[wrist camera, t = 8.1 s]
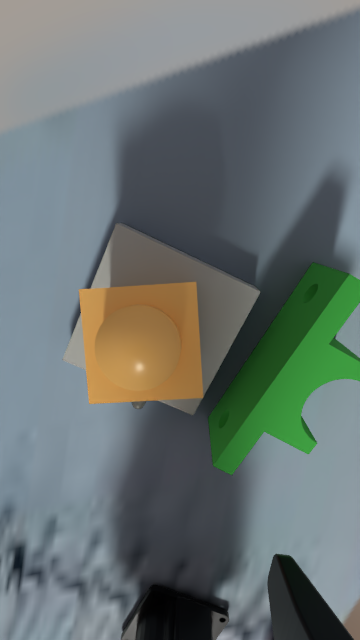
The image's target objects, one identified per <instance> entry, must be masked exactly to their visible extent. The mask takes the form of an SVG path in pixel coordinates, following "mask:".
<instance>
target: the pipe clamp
mask: <svg viewBox="0 0 360 640" xmlns="http://www.w3.org/2000/svg"><path fill="white" fill-rule="evenodd" d="M359 303H360V280H359V279H357V278H355V277H354V276H352V275H350V274H348V273H345V272H342V271H339V270H336V269H332V268H329V267H326V266H323V265H320V264H317V263H314V262H313V263H312V264H311V266H310V267H309V269H308V270H307V272H306V273H305V275H304V276H303V278H302V279H301V280H300V282H299V283H298V285H297V286H296V288H295V289H294V291H293V292H292V294H291V295H290V297H289V298H288V300H287V301H286V303H285V304H284V306H283V307H282V309H281V310H280V312H279V313H278V315H277V316H276V318H275V319H274V321H273V322H272V324H271V325H270V327H269V328H268V329H267V331H266V332H265V334H264V335H263V337H262V338H261V340H260V341H259V343H258V344H257V346H256V347H255V349H254V350H253V352H252V353H251V355H250V356H249V358H248V359H247V361H246V362H245V364H244V365H243V367H242V368H241V370H240V371H239V373H238V374H237V376H236V377H235V378H234V380H233V381H232V383H231V384H230V386H229V387H228V389H227V390H226V392H225V393H224V395H223V396H222V398H221V399H220V401H219V402H218V404H217V405H216V407H215V408H214V410H213V411H212V413H211V414H210V416H209V417H208V423H209V432H210V442H211V452H212V462H213V466H214V467H216V468H218V469H220V470H222V471H224V472H226V473H228V474H230V475H232V474H233V473H234V472H235V470H236V469H237V468H238V466H239V465H240V463H241V462H242V461H243V459H244V458H245V457H246V455H247V454H248V453H249V451H250V450H251V449H252V447H253V446H254V445H255V443H256V442H257V440H258V439H259V438H260V436H261V435H262V434H263V432H266V433H268V434H270V435H272V436H274V437H276V438H278V439H280V440H282V441H284V442H285V443H287V444H289V445H291V446H293V447H295V448H297V449H299V450H301V451H303V452H305V453H307V454H309V453H310V452H311V451H312V449H313V448H314V447H315V446H316V444H317V442H316V440H315V438H314V437H313V435H312V433H311V432H310V430H309V428H308V426H307V425H306V423H305V421H304V420H303V418H302V416H301V412H302V408H303V405H304V403H305V401H306V399H307V398H308V397H309V395H310V394H311V393H312V392H313V391H314V390H315V389H317V388H318V387H320V386H321V385H323V384H325V383H327V382H330V381H333V380H338V379H354V380H358V381H360V358H359V357H357V356H356V355H355V354H354V353H352V352H351V351H350V350H349V349H347V348H346V347H345V346H344V345H342V344H341V343H340V342H338V341H337V340H336V339H334V336H335V335H336V334H337V332H338V331H339V330H340V328H341V327H342V326H343V324H344V323H345V321H346V320H347V319H348V317H349V316H350V315H351V313H352V312H353V311H354V309H355V308H356V307H357V305H358V304H359Z"/></svg>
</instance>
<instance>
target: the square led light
mask: <svg viewBox="0 0 360 640" xmlns="http://www.w3.org/2000/svg"><path fill="white" fill-rule="evenodd" d="M79 296H80V307H81V318H82V329H83V340H84V351H85V362H86V374H87V385H88V396H89V404H96V403H116V402H135V401H154V400H174V399H193V398H203V383H202V367H201V350H200V334H199V317H198V301H197V284H196V282H184V283H169V284H154V285H139V286H124V287H109V288H94V289H79Z"/></svg>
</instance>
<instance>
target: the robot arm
mask: <svg viewBox="0 0 360 640" xmlns="http://www.w3.org/2000/svg"><path fill="white" fill-rule="evenodd" d="M268 594H269V602H270V611H271V619H272V627H273V635H274V640H354V639H353V638H352V636H351V635H350V634H349V632H348V631H347V630H346V628H345V627H344V626H343V624H342V623H341V622H340V620H339V619H338V618H337V616H336V615H335V614H334V612H333V611H332V610H331V608H330V607H329V606H328V604H327V603H326V602H325V600H324V599H323V598H322V596H321V595H320V594H319V592H318V591H317V590H316V588H315V587H314V586H313V584H312V583H311V582H310V580H309V579H308V578H307V576H306V575H305V574H304V572H303V571H302V570H301V568H300V567H299V566H298V564H297V563H296V562H295V560H294V559H293V558H292V557H291V556H289V555H283V554H275V555H274V557H273V560H272V564H271V568H270V571H269V575H268ZM228 622H229V614H228V612H227V611H226V610H224V609H221V608H219V607H216V606H213V605H210V604H208V603H205V602H202V601H199V600H197V599H194V598H191V597H189V596H186V595H183V594H180V593H178V592H175V591H172V590H169V589H167V588H164V587H161V586H158V585H153V586H151V587H150V588H149V590H148V591H147V593H146V595H145V596H144V598H143V600H142V601H141V603H140V605H139V606H138V608H137V610H136V611H135V613H134V615H133V616H132V618H131V619H130V621H129V623H128V624H127V626H126V628H125V629H124V631H123V633H122V635H121V640H216V638H217V637H218V636H219V634H220V633H221V632H222V630H223V629H224V628H225V626H226V625H227V623H228Z"/></svg>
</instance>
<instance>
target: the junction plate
mask: <svg viewBox="0 0 360 640" xmlns="http://www.w3.org/2000/svg"><path fill="white" fill-rule="evenodd" d="M184 282H196V284H197V301H198V317H199V334H200V350H201V367H202V383H203V397H204V395H205V393H206V391H207V389H208V387H209V386H210V384H211V382H212V380H213V378H214V376H215V375H216V373H217V371H218V369H219V367H220V365H221V364H222V362H223V360H224V358H225V356H226V354H227V353H228V351H229V349H230V347H231V345H232V343H233V342H234V340H235V338H236V336H237V334H238V332H239V331H240V329H241V327H242V325H243V323H244V322H245V320H246V318H247V316H248V314H249V312H250V311H251V309H252V307H253V305H254V303H255V301H256V300H257V298H258V296H259V294H260V291H259V290H258V289H257V288H256V287H255V286H253V285H251V284H249V283H247V282H245V281H243V280H241V279H238V278H236V277H234V276H232V275H230V274H228V273H226V272H224V271H222V270H220V269H217V268H215V267H213V266H211V265H209V264H207V263H205V262H203V261H201V260H199V259H196V258H194V257H192V256H190V255H188V254H186V253H184V252H182V251H180V250H177V249H175V248H173V247H171V246H169V245H167V244H165V243H163V242H161V241H159V240H156V239H154V238H152V237H150V236H148V235H146V234H144V233H142V232H140V231H138V230H135V229H133V228H131V227H129V226H127V225H125V224H123V223H116V225H115V228H114V230H113V233H112V235H111V238H110V240H109V243H108V245H107V248H106V251H105V253H104V256H103V258H102V261H101V263H100V266H99V268H98V271H97V273H96V276H95V278H94V281H93V284H92V286H91V289H94V288H109V287H124V286H139V285H154V284H169V283H184ZM63 360H64V361H66V362H68V363H71V364H73V365H75V366H78V367H80V368H83V369H85V370H86V362H85V351H84V340H83V329H82V318H81V314H80V317H79V319H78V322H77V324H76V327H75V329H74V332H73V334H72V337H71V339H70V342H69V344H68V347H67V350H66V352H65V355H64V357H63ZM201 400H202V398H193V399H174V400H158V401H160V402H162V403H165V404H167V405H170V406H172V407H174V408H177V409H179V410H181V411H184V412H186V413H188V414H191V415H194V413H195V411H196V409H197V408H198V406H199V404H200V402H201ZM145 403H146V401H135V402H132V405H133V407H134V408H135V409H141V408H143V406H144V405H145Z"/></svg>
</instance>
